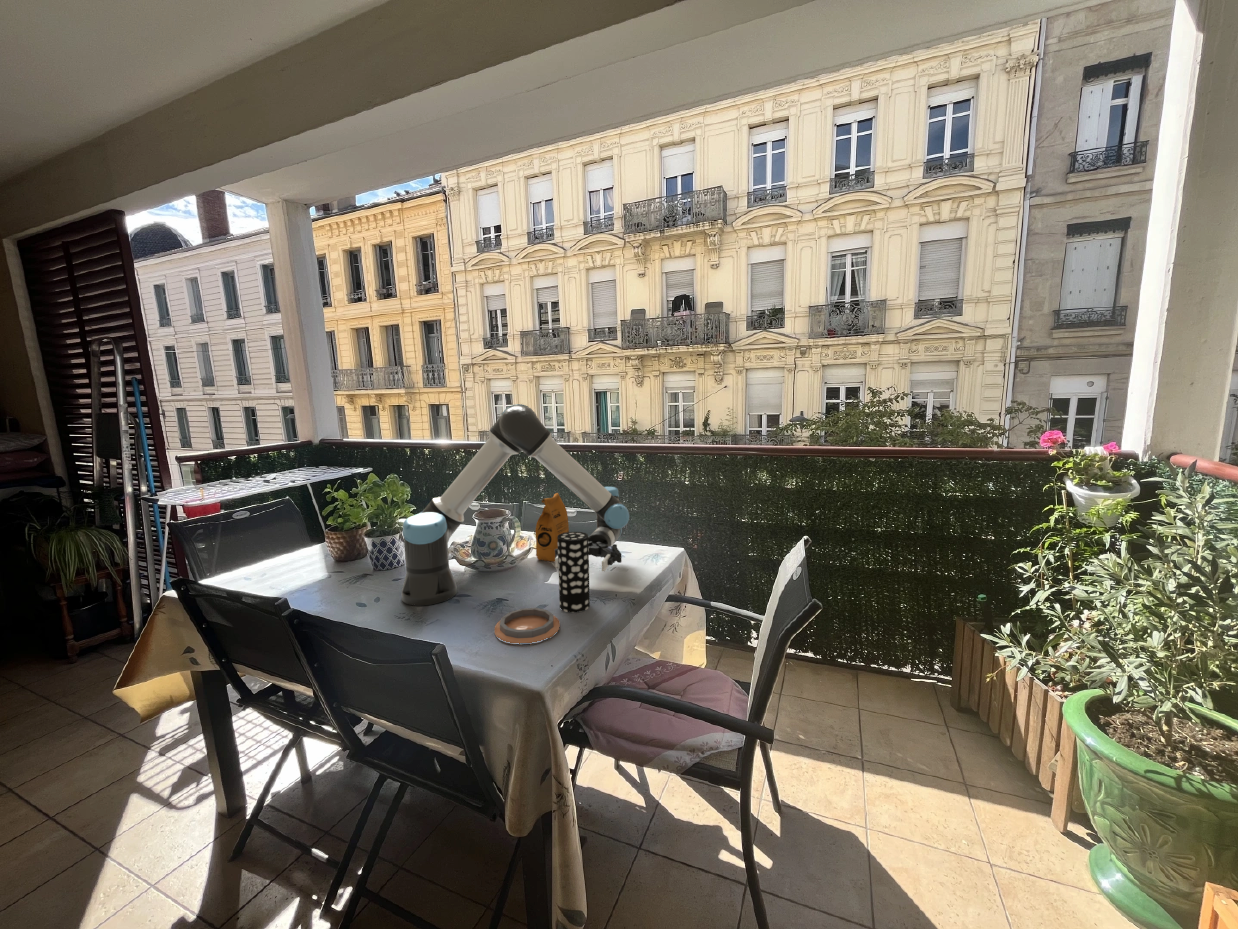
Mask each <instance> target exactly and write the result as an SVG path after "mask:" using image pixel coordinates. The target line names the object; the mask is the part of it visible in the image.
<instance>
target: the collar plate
mask: <svg viewBox="0 0 1238 929" xmlns="http://www.w3.org/2000/svg"><path fill="white" fill-rule="evenodd" d="M560 624H561V623H560V619H559V618H558V617H556V616H555V615H554V614H553V613H552V612H550V611H549V610H547V609H543V608H539V607H527V608H525V607H524V608H520V609H516V610H513V611H509V612H507V613H506V614H505V615H504V616H501V619H500V620H499V621H498V622H497V623H496V624H495V625H494V636H495V635H496V636H495V638H496V637H498V638H500V639H501V640H503V641H506V642H510V643H519V644H520V643H532V642H537V641H541V640H544V639H546V638H550V637H552V636H553V635H554V634H555V633H556V632H558V633H559V631H560V628H559V627H561V626H560ZM558 630H559V631H558ZM553 637H554V636H553ZM553 637H552V638H553ZM550 639H551V638H550Z"/></svg>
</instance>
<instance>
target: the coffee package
mask: <svg viewBox="0 0 1238 929" xmlns="http://www.w3.org/2000/svg"><path fill="white" fill-rule="evenodd" d="M541 503H542V504H544V506H543V509H542V512H541V514H540V516H539V518H538V519H537V521H536V526H535V529H534V532H535V556H536V558H537V560H539V561H541V560H542V561H545V562H551V563H552V562H553V563H555V549H558V539H557V536H558V535H559V534H562V533H566V532H570V527H569V517H568V511H567V507H566V505H565V504H564V502H563V499H562V498H561V497H560V494H559V493H558V492H556V493H554V494H553V497H548V498H547V497H546V498H543V499H542V500H541Z"/></svg>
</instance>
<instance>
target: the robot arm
mask: <svg viewBox="0 0 1238 929" xmlns="http://www.w3.org/2000/svg"><path fill="white" fill-rule="evenodd" d="M488 435H489V438H488V439H487V440H486V441H485V442H484V444H483V445H482V446H481V448H480V449H479V450H478V451H477V452H476V453H475V455H474V456H473V457H472V459H471V460H470V461H469V462H468V463H467V464H466V466H465V467H463V470H461V472H460V473H459V474H458V476H456V478H455V479H454V480H453V482H452V483H451V484H450V485H449V486H448V488H447V489H445V491H444V492H443V494H441V496H438V497H433V498H432V499H431V501H430V502H429V503H428V504H427V505H426V507H425V508H424V509H423V510H421V511H420V512H418V513H417V514H413V515H411V516H409V517H407V518H406V519H405V520H404V522H403V523H402V536H403V546H404V558H405V568H406V569H405V570H406V571H405V572H406V573H405V577H404V580H403V581H404V582H403V584H402V588H401V593H400V594H401V600H402V602H403V603H404V604H406V605H410V606H418V607H419V606H421V607H422V606H423V607H424V606H430V605H431V606H432V605H436V604H439V603H444V602H446V601H448V600H450V599H452V598H453V597H454V596H456V595H457V592H458V588H457V587H458V585H457V582H456V580H455V577H454V575H453V573H452V570H451V569H450V565H449V564H450V563H449V562H450V560H449V559H450V558H449V546H448V545H449V541H450V539H451V537H452V536H453V534H454V533H455V532H456V531H457V529H458V528H459V527H460V526H461V524H462V523H463V522H464V521H465V517H464V514H465V512H466V510H467V509H469V507H471V505H472V503H473V502H474V501H475V500H476V498H477V497H478V496H480V494H481V492H482V491H483V490H484V489H485V487H486V486H487V485H488V484H489V483H490V481H491V480H492V479H494V477H495V476H496V474H497V473H498V472H499V470H500V469H502V467H503V466H504V465H505V463H506V462H507V461H508V459H509V458H510V457H511V456H513V455H519V454H520V453H521V452H523V453H524V454H525V455H526V456H527V457H528V458H534V459H536V460H537V461H538V462H539V463H540V464H542V466H543V467H544V468H546V469H547V470H548V471H549V472H551V474H552V475H553V476H555V477H556V478H557V479H558V480H559V481H560V482H562V484H563V485H564V486H565V487H567V488H568V489H569V490H570V491H571V492H572V493H573V494H575V496H577V498H579V499H580V501H583V503H584V504H585V505H586V506H588V507H589V508H590V509H591V510H592V511H593V512H594V513H595V514H596V529H595V530H593V532H592V533H591V534H590V535H588V544H589V556H593V557H596V558H603V560H602V561H601V571H602V572H605V571H606V570H607V569H608V567H609V566H612V565H613V564H615V563H618V564H619V563H622V553H621V551H620V550H619V548H618V544H617V543H616V542H617V541H618V540H619V539H620V536H621V535H622V531H623V530H622V529H623V528H624V527H625V526H627V524H628V523H629V521H630V512H629V510H628V508H627V506H625V505H624V504H623V503H622V501H620V495H619V488H618V487H615V486H603V484H601V483H600V481H598V480H597V479H596V478H595V477H594V476H593V475H592V474H591V473H589V471H587V470H586V469H585V468H584V467H583V466H582V464H580V463H579V462H577V461H576V459H574V457H572V456H571V455H570V454H569V453H568V452H567V451H566V450H565V449H564V448H563V447H562V446H561V445H560V444H559V443H558V442H557V441H556V440H554V439H553V437H552V433H551V431H550V430H548V429H547V428H546V426H545V425H544V424H543V423H542V422H541V420H540V419H539V417H538V415H537V414H536V412H535V411H534V410H533V409H532V408H531V407H529V406H528V405H525V404H523V403H522V404H521V403H519V404H518V403H516V404H515V403H514V404H512V405H510V406H507V407H506V408H505V409H504V410H503V412H502V413H501V415H500V416H499V418H498V419H497V420H496V421H495V422H494V424H493V425H492V426H491V427H490V428H489V430H488ZM615 543H616V544H615ZM554 563H555V564H554V565H555V566H554V567H555V568H558V549H555V562H554Z"/></svg>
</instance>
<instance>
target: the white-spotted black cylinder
mask: <svg viewBox="0 0 1238 929" xmlns="http://www.w3.org/2000/svg"><path fill="white" fill-rule="evenodd" d="M588 537H589V534H588V533H586V532H583V531H569V532H566V533H562V534H559V535H558V536H557V539H558V593H559V594H558V596H559V597H558V599H559V609H560V608H561V609H562V610H561V609H560V610H561V611H563V612H565V613H576V614H577V613H581V612H585V611H587V610H589V608H590V607H591V598H590V597H591V596H590V595H591V594H590V555H589V544H588Z"/></svg>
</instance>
